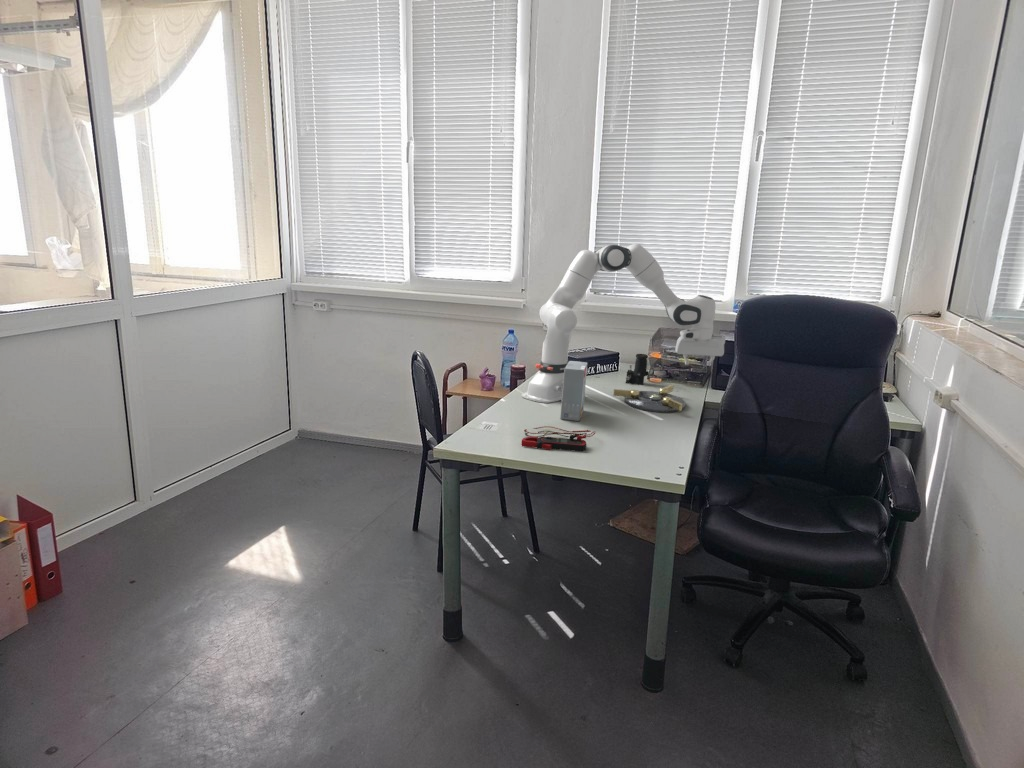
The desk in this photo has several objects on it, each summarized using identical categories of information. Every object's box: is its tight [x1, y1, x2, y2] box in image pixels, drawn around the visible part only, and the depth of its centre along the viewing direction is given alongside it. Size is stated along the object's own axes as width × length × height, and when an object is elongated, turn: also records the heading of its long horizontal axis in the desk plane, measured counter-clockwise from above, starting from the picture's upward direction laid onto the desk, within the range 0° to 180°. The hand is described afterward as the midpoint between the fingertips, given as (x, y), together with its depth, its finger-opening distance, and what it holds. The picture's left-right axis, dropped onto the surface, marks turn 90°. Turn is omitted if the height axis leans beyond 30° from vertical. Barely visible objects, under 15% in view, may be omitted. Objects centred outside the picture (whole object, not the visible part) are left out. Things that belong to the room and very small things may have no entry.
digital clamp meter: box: [521, 425, 596, 452], centre depth 219 cm, size 23×4×25 cm
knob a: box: [658, 384, 675, 396], centre depth 276 cm, size 11×4×3 cm, turn 143°
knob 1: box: [612, 388, 640, 398], centre depth 268 cm, size 11×4×3 cm, turn 83°
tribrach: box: [624, 390, 686, 414], centre depth 267 cm, size 25×25×4 cm
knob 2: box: [663, 397, 683, 412], centre depth 256 cm, size 11×4×3 cm, turn 23°
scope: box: [625, 353, 650, 386], centre depth 298 cm, size 8×14×10 cm
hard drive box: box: [559, 360, 588, 422], centre depth 245 cm, size 16×8×20 cm, turn 168°
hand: (697, 365), depth 275 cm, fingers open, 8 cm apart
